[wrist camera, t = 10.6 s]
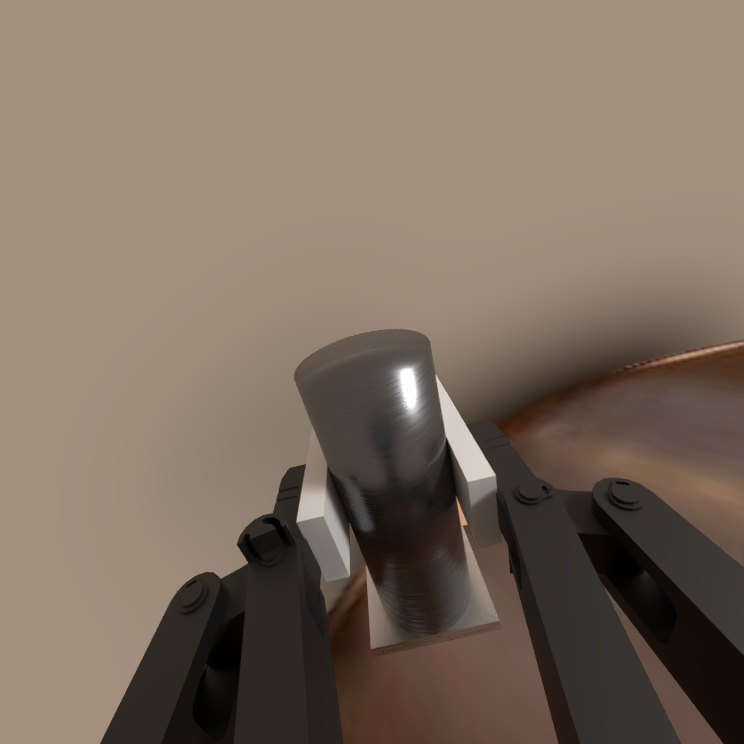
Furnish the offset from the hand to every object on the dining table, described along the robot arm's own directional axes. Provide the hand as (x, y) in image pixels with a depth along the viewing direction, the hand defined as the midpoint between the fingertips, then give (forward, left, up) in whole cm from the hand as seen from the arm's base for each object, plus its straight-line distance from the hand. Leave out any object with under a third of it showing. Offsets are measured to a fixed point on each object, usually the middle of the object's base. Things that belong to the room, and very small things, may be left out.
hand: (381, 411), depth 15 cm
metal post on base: (0, +1, -7) cm, 7 cm away
